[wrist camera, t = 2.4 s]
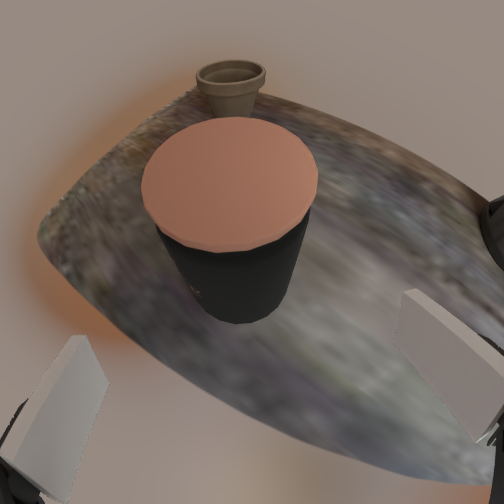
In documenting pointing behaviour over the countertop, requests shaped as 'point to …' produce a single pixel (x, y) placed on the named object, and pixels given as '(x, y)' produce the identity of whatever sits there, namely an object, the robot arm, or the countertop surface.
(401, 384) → the countertop surface
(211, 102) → the flower pot
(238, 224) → the coffee jar
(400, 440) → the countertop surface
